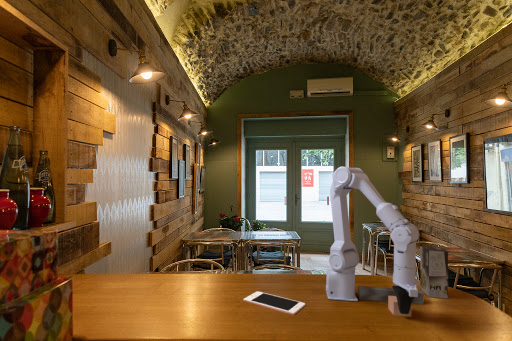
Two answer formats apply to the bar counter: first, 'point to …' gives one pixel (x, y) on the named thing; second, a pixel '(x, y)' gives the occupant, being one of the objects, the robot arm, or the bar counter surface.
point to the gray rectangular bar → (382, 294)
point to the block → (395, 306)
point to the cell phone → (275, 302)
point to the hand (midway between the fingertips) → (404, 313)
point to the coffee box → (434, 271)
